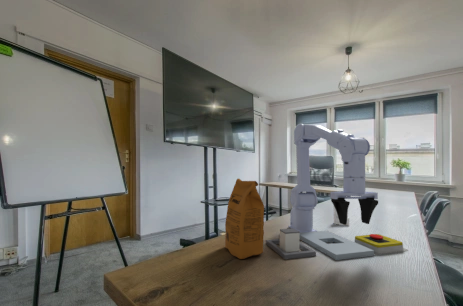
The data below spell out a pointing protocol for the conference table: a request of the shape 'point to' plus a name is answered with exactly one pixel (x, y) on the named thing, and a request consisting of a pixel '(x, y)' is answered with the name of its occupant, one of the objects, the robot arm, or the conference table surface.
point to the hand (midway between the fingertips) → (354, 223)
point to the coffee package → (244, 220)
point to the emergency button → (380, 243)
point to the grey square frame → (305, 253)
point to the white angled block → (336, 219)
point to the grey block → (289, 240)
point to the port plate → (335, 245)
